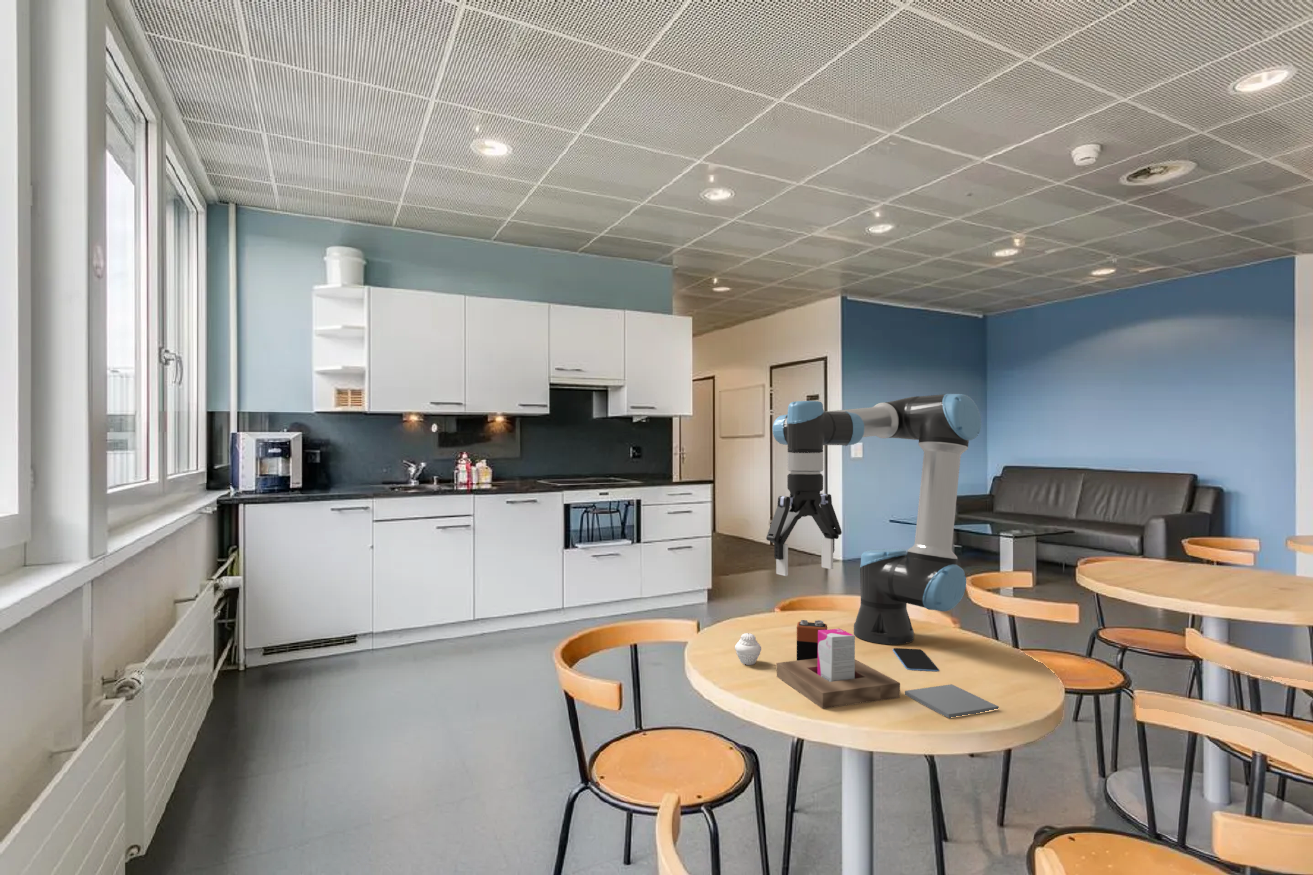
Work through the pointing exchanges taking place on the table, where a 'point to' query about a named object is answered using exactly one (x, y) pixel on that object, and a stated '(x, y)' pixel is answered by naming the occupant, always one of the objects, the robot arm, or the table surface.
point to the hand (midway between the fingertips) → (805, 571)
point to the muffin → (748, 649)
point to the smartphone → (915, 659)
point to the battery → (808, 639)
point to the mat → (950, 700)
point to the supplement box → (836, 655)
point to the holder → (837, 684)
